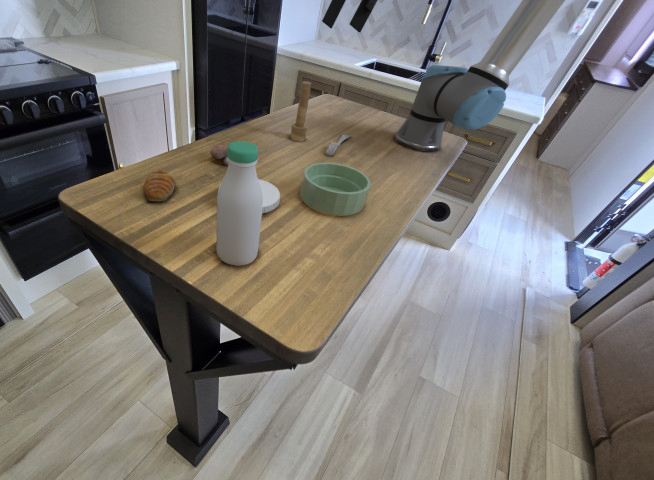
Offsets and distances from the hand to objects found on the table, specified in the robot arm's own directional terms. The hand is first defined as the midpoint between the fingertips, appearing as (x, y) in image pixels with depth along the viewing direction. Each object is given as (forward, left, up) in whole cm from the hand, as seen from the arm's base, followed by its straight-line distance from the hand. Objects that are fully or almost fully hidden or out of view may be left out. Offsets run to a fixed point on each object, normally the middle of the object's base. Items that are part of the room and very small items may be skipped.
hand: (339, 26), depth 71 cm
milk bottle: (+45, +9, -32) cm, 55 cm away
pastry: (+39, -18, -32) cm, 53 cm away
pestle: (-16, -14, -31) cm, 38 cm away
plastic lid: (+28, -1, -32) cm, 42 cm away
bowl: (+13, +13, -31) cm, 36 cm away
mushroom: (+15, -19, -32) cm, 40 cm away
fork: (-22, -2, -32) cm, 39 cm away
